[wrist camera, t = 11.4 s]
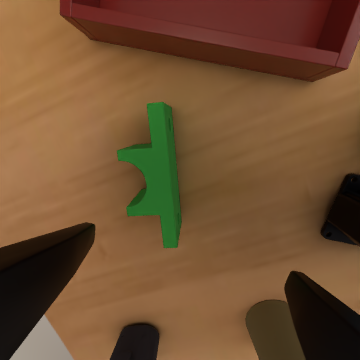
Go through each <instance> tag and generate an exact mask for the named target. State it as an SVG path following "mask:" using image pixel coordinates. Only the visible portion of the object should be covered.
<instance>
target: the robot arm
mask: <svg viewBox="0 0 360 360" xmlns="http://www.w3.org/2000/svg"><path fill="white" fill-rule="evenodd" d="M353 177H354V180H353V181H351V179H352V178H353ZM328 232H329V233H328ZM326 233H328V234H326ZM321 235H322V236H323V237H324V238H326V239H329V240H334V241H339V242H344V243H348V244H353V245H358V246H359V247H360V175H359V174H354V173H351V174H348V175H347V176H346V177H345V179H344V181H343V184H342V186H341V188H340V190H339V193H338V195H337V197H336V199H335V201H334V203H333V205H332V208H331V210H330V212H329V214H328V217H327V219H326V221H325V224H324V226H323V228H322V230H321ZM94 238H95V225H94V224H92V223H88V222H85V223H82V224H78V225H75V226H72V227H68V228H65V229H62V230H58V231H55V232H52V233H48V234H45V235H41V236H38V237H35V238H31V239H28V240H25V241H21V242H18V243H15V244H11V245H8V246H5V247H1V248H0V360H9V359H10V358H11V357H12V355H13V354H14V353H15V351H16V350H17V349H18V348H19V346H20V345H21V344H22V342H23V341H24V340H25V338H26V337H27V336H28V334H29V333H30V332H31V331H32V329H33V328H34V327H35V325H36V324H37V323H38V321H39V320H40V319H41V318H42V316H43V315H44V314H45V312H46V311H47V310H48V308H49V307H50V306H51V304H52V303H53V302H54V301H55V299H56V298H57V297H58V295H59V294H60V293H61V291H62V290H63V289H64V287H65V286H66V285H67V284H68V282H69V281H70V280H71V278H72V277H73V276H74V274H75V273H76V271H77V270H78V268H79V266H80V265H81V263H82V261H83V260H84V258H85V257H86V255H87V253H88V252H89V250H90V248H91V247H92V245H93V243H94ZM284 290H285V294H286V298H287V302H288V306H289V310H290V314H291V317H292V321H293V325H294V328H295V331H296V334H297V337H298V340H299V342H300V345H301V348H302V351H303V354H304V356H305V359H306V360H360V315H359V314H357V313H356V312H355V311H353V310H352V309H351V308H349V307H348V306H347V305H345V304H344V303H343V302H341V301H340V300H339V299H337V298H336V297H335V296H333V295H332V294H330V293H329V292H328V291H326V290H325V289H324V288H322V287H321V286H320V285H318V284H317V283H316V282H314V281H313V280H312V279H310V278H309V277H308V276H306V275H305V274H304V273H302V272H298V271H291V272H290V274H289V276H288V279H287V281H286V283H285V287H284Z"/></svg>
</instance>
